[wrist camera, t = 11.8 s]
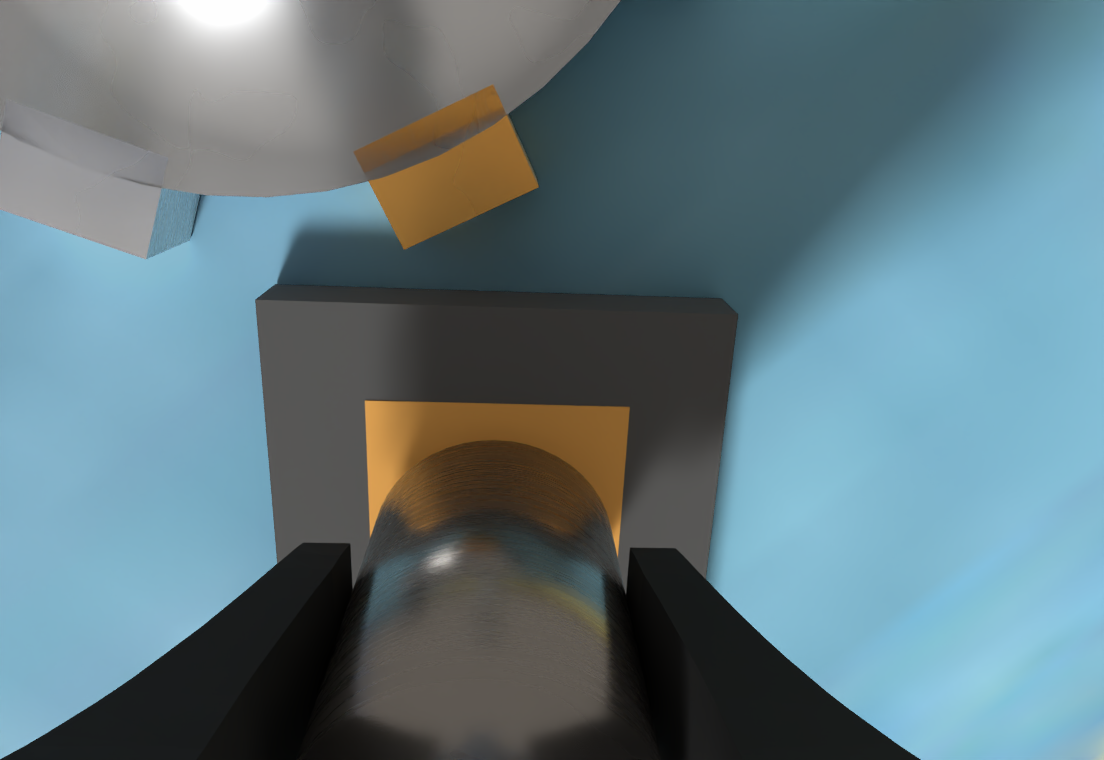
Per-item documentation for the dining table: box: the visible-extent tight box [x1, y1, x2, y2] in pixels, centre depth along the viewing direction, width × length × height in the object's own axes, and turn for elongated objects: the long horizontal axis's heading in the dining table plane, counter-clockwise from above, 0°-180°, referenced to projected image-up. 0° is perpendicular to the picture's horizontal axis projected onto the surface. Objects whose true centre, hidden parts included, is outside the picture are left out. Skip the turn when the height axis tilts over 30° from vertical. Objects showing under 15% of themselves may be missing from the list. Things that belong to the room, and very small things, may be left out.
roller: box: [296, 440, 661, 760], centre depth 10 cm, size 4×4×5 cm
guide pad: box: [255, 284, 738, 594], centre depth 13 cm, size 7×7×1 cm
